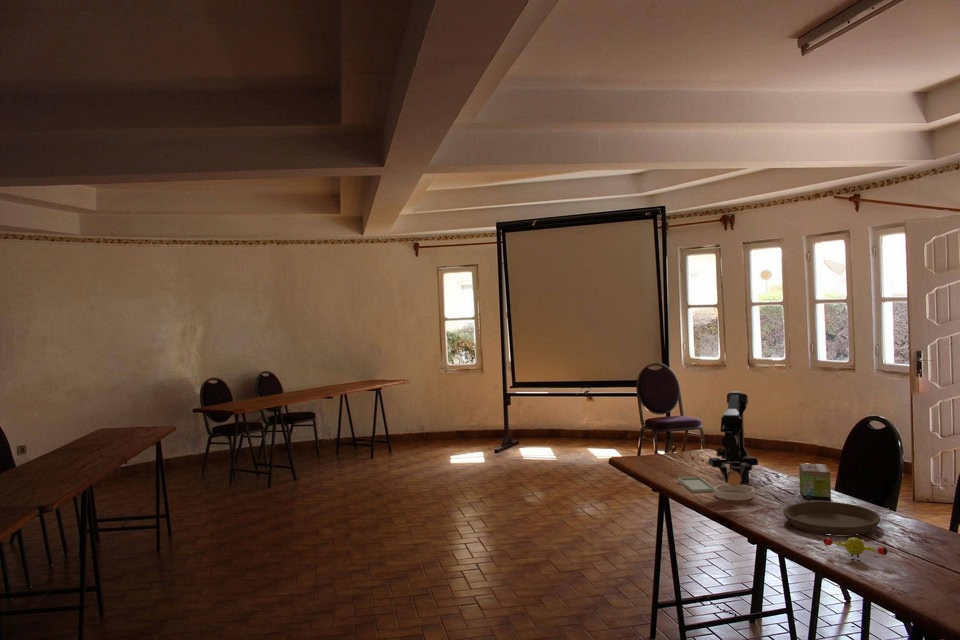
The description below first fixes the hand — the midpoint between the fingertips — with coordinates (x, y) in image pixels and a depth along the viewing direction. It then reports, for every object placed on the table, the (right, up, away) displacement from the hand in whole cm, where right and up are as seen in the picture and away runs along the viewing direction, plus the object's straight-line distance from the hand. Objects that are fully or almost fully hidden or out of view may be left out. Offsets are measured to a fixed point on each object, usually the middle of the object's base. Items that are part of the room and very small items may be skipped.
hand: (733, 482), depth 299 cm
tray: (-10, -6, +18) cm, 22 cm away
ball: (0, -1, 0) cm, 1 cm away
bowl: (0, -6, 0) cm, 6 cm away
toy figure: (+10, -7, -77) cm, 78 cm away
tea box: (+27, -5, -15) cm, 31 cm away
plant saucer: (+20, -6, -42) cm, 47 cm away
